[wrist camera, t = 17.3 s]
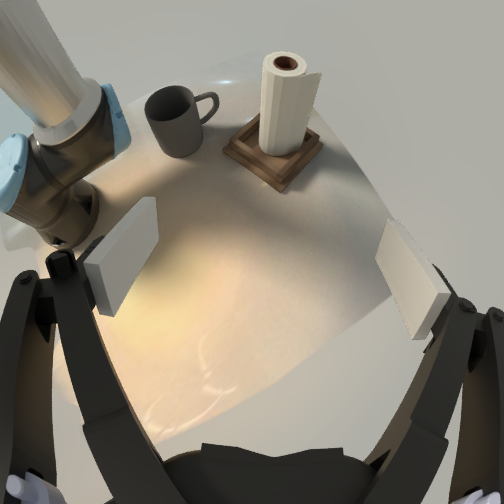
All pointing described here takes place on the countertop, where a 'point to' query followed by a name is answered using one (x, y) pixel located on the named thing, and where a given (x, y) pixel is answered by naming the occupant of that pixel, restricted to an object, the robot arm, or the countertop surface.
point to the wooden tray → (271, 167)
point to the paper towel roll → (285, 102)
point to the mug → (177, 119)
